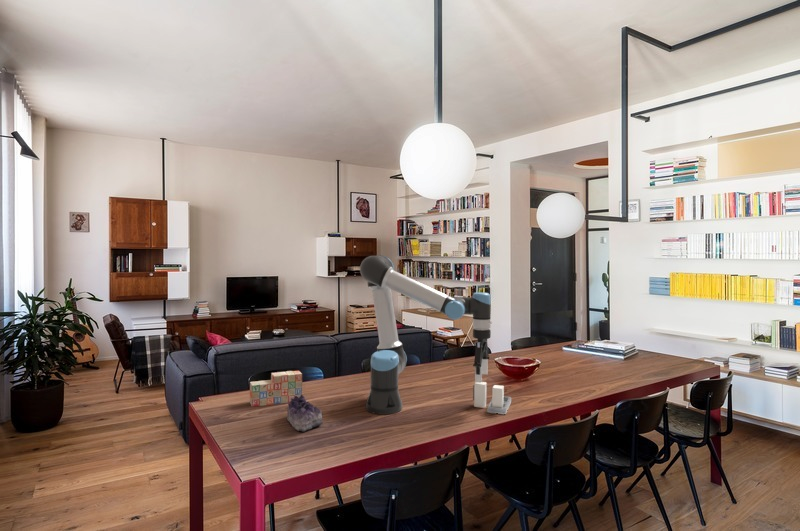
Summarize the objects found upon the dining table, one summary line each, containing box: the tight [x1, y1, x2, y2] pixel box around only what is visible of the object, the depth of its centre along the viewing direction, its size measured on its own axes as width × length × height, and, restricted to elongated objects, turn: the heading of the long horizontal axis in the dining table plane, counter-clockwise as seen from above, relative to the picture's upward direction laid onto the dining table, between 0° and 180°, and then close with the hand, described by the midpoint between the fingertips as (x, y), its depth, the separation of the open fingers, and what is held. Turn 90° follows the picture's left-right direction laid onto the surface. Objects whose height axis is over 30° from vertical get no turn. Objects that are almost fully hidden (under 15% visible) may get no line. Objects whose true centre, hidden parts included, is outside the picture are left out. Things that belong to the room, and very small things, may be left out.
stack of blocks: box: [249, 370, 303, 408], centre depth 205 cm, size 21×6×12 cm, turn 115°
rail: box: [486, 396, 512, 415], centre depth 202 cm, size 18×8×2 cm, turn 159°
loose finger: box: [472, 381, 488, 409], centre depth 203 cm, size 4×5×10 cm
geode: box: [286, 394, 324, 433], centre depth 181 cm, size 20×12×10 cm, turn 34°
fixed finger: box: [491, 384, 505, 408], centre depth 198 cm, size 4×5×10 cm
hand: (481, 377), depth 203 cm, fingers open, 13 cm apart
